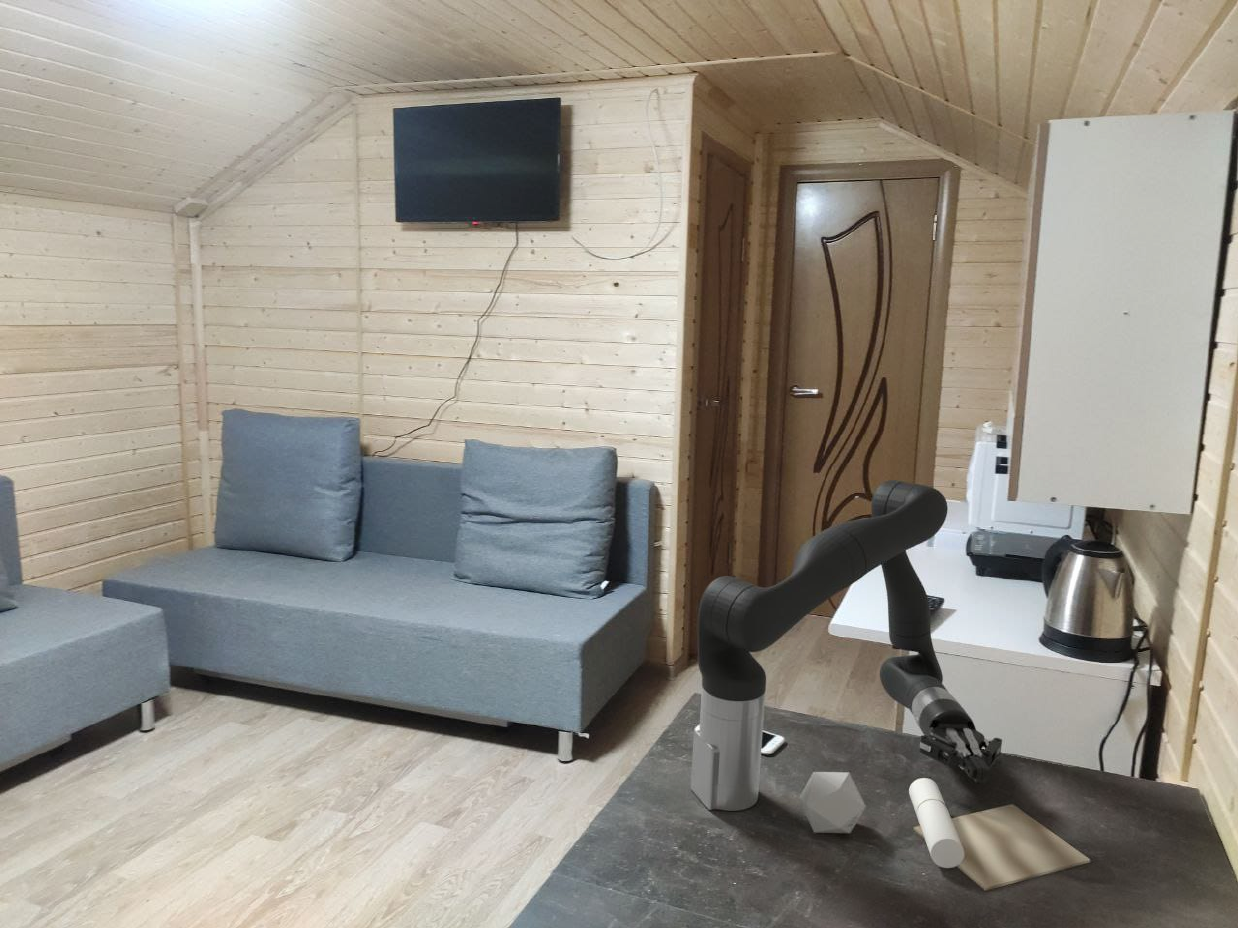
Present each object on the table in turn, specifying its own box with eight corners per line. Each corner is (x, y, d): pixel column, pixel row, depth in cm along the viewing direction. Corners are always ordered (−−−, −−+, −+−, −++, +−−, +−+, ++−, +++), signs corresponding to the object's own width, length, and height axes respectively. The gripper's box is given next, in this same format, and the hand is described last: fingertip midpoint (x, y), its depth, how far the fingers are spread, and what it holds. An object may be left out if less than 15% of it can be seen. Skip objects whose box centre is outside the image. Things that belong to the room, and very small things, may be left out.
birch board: (985, 890, 119) (985, 887, 119) (913, 829, 132) (913, 826, 132) (1089, 861, 126) (1090, 859, 126) (1012, 806, 139) (1012, 803, 138)
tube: (905, 799, 138) (926, 862, 123) (914, 774, 137) (936, 834, 122) (933, 807, 137) (957, 871, 123) (943, 782, 137) (968, 844, 122)
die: (848, 857, 126) (884, 795, 128) (794, 821, 127) (830, 759, 128) (832, 842, 134) (866, 784, 136) (782, 808, 135) (816, 751, 136)
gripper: (903, 696, 149) (938, 750, 132) (985, 698, 149) (1031, 753, 132) (898, 738, 151) (933, 798, 134) (980, 741, 151) (1025, 801, 134)
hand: (982, 776), depth 133 cm, fingers closed
